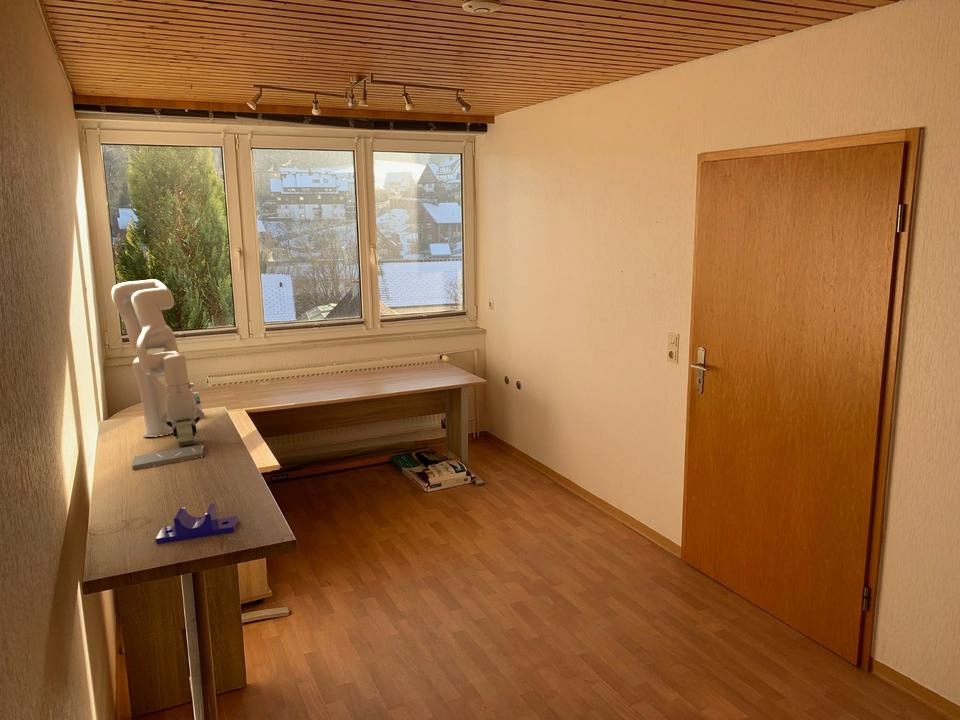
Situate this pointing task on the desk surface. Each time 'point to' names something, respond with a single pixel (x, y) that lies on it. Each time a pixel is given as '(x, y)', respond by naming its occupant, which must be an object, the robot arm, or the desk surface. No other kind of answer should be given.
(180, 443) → the block
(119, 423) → the desk surface
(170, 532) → the mounting bracket
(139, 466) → the board
